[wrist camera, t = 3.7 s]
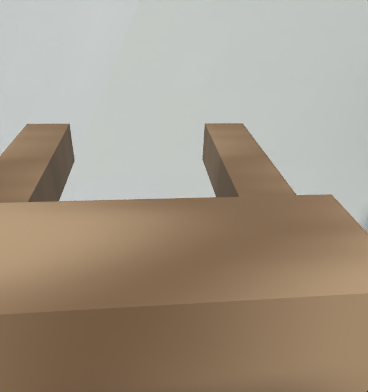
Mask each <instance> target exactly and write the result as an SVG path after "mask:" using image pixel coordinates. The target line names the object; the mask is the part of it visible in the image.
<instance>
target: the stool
mask: <svg viewBox="0 0 368 392" xmlns="http://www.w3.org/2000/svg"><path fill="white" fill-rule="evenodd" d="M203 162H204V164H205V167H206V170H207V173H208V176H209V178H210V181H211V184H212V187H213V189H214V192H215V195H216V197H213V198H174V199H134V200H95V201H59V199H60V197H61V194H62V191H63V189H64V186H65V184H66V181H67V179H68V176H69V174H70V171H71V168H72V166H73V163H74V154H73V146H72V139H71V132H70V125H69V124H27V125H26V126H25V127H24V129H23V130H22V131H21V132H20V133H19V134H18V136H17V137H16V138H15V139H14V140H13V142H12V143H11V144H10V145H9V146H8V147H7V149H6V150H5V151H4V152H3V153H2V155H1V156H0V392H367V391H368V233H367V232H366V231H365V230H364V229H363V228H362V227H361V226H360V225H359V224H358V223H357V222H356V220H355V219H354V218H353V217H352V216H351V215H350V214H349V213H348V212H347V211H346V210H345V209H344V207H343V206H342V205H341V204H340V203H339V202H338V201H337V200H336V199H335V198H334V197H333V196H332V195H296V194H295V192H294V191H293V190H292V188H291V187H290V186H289V184H288V183H287V182H286V180H285V179H284V178H283V176H282V175H281V174H280V172H279V171H278V170H277V168H276V167H275V166H274V164H273V163H272V162H271V160H270V159H269V158H268V156H267V155H266V154H265V152H264V151H263V150H262V149H261V147H260V146H259V145H258V143H257V142H256V141H255V139H254V138H253V137H252V135H251V134H250V133H249V131H248V130H247V129H246V127H245V126H244V125H243V124H205V130H204V145H203Z"/></svg>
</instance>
